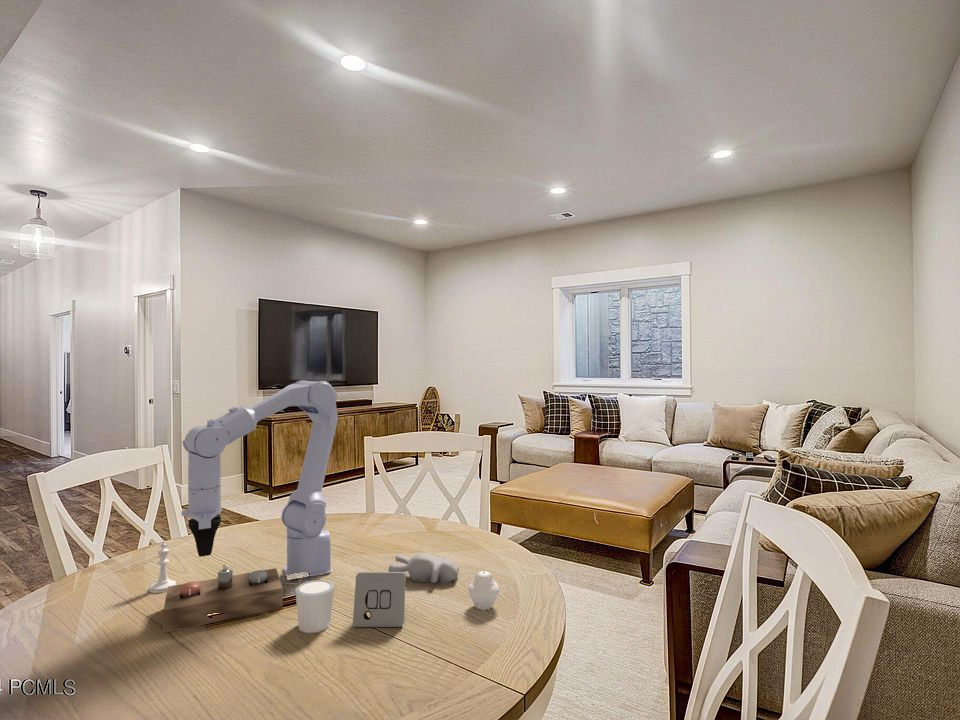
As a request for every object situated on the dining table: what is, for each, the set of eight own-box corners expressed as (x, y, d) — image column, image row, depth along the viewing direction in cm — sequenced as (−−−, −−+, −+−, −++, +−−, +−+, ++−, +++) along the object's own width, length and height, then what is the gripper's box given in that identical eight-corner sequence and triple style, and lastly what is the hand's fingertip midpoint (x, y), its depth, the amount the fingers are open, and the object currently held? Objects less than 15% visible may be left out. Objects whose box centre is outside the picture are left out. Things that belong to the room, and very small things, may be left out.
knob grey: (266, 594, 107) (266, 569, 107) (268, 601, 104) (268, 575, 104) (248, 597, 105) (248, 572, 105) (249, 605, 102) (249, 578, 102)
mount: (276, 586, 111) (276, 568, 111) (282, 608, 102) (282, 587, 102) (167, 606, 102) (167, 586, 102) (163, 632, 92) (163, 610, 92)
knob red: (200, 606, 101) (200, 580, 101) (200, 614, 98) (200, 587, 98) (180, 610, 100) (180, 583, 100) (179, 619, 96) (179, 591, 96)
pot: (232, 583, 104) (232, 562, 104) (232, 588, 101) (232, 566, 101) (217, 586, 102) (217, 564, 102) (217, 591, 100) (217, 568, 100)
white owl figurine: (484, 617, 98) (484, 580, 98) (461, 607, 102) (461, 571, 102) (505, 606, 103) (505, 570, 103) (482, 596, 107) (482, 562, 107)
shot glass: (341, 619, 97) (341, 582, 97) (318, 637, 91) (319, 597, 91) (311, 613, 100) (311, 577, 100) (286, 630, 93) (287, 591, 93)
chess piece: (163, 594, 108) (164, 546, 108) (143, 592, 109) (144, 544, 109) (181, 584, 113) (182, 538, 113) (162, 582, 114) (162, 536, 114)
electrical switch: (352, 628, 94) (353, 575, 95) (358, 617, 99) (359, 567, 100) (403, 628, 94) (404, 575, 95) (407, 617, 99) (408, 567, 100)
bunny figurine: (456, 570, 110) (387, 559, 112) (453, 594, 111) (385, 583, 112) (461, 554, 120) (399, 544, 121) (459, 576, 120) (396, 566, 121)
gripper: (182, 481, 107) (183, 546, 107) (180, 497, 95) (180, 571, 95) (220, 477, 111) (221, 541, 111) (222, 493, 98) (223, 564, 98)
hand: (204, 554), depth 103 cm, fingers closed
